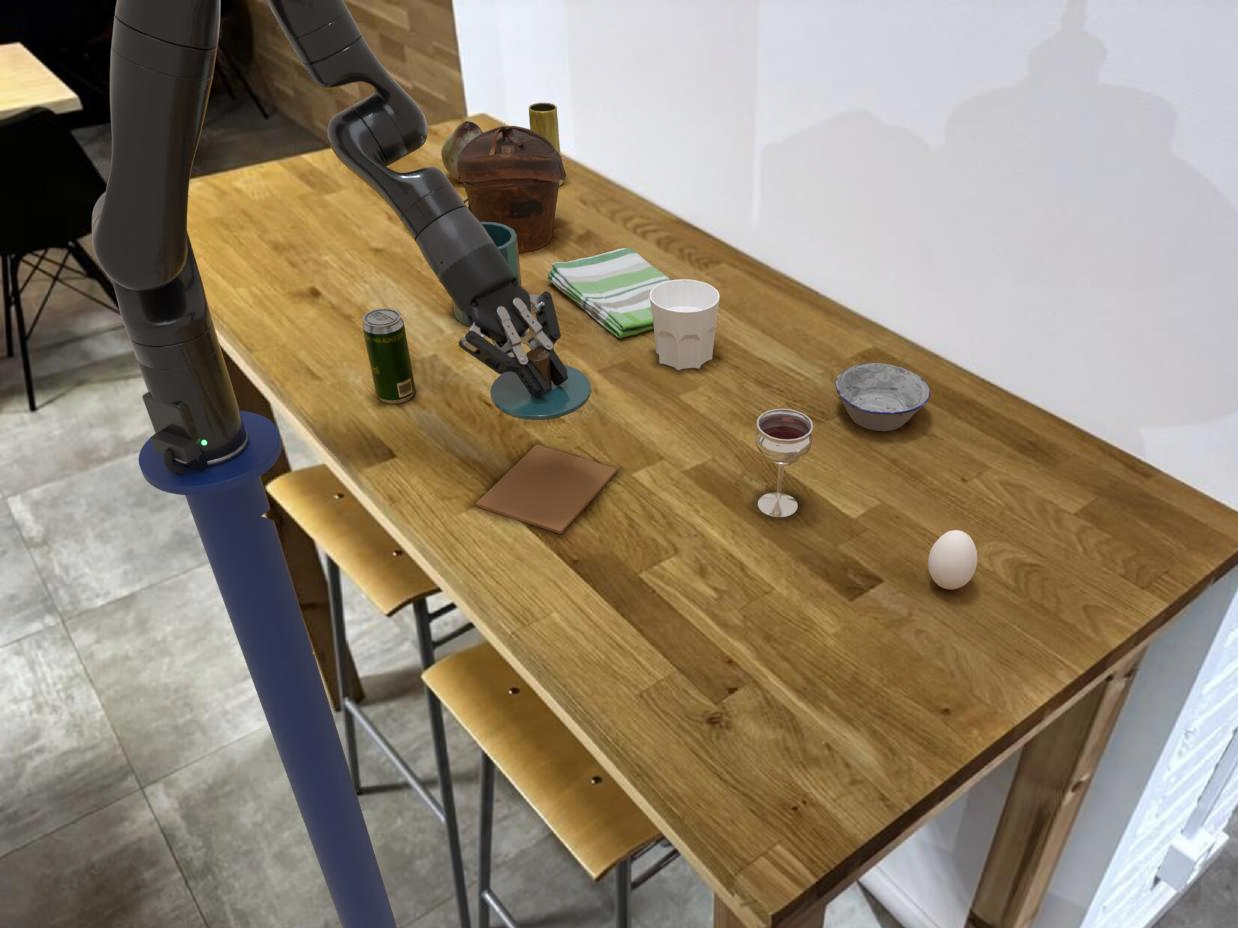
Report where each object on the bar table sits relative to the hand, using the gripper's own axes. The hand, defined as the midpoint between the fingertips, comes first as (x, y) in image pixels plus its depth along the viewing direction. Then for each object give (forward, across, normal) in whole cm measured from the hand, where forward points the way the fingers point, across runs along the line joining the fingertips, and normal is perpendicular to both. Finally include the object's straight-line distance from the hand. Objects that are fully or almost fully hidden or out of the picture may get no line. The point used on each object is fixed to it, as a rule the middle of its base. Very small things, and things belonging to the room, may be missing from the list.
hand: (553, 387), depth 124 cm
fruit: (-46, +62, +69) cm, 104 cm away
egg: (+44, +15, -21) cm, 51 cm away
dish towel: (-8, +44, +30) cm, 54 cm away
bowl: (+27, +40, -4) cm, 49 cm away
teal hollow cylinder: (-18, +27, +40) cm, 51 cm away
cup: (+5, +36, +17) cm, 40 cm away
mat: (+9, 0, +12) cm, 16 cm away
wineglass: (+27, +15, -5) cm, 31 cm away
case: (-29, +50, +51) cm, 77 cm away
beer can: (-12, +2, +34) cm, 37 cm away
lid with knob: (0, 0, +2) cm, 2 cm away
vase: (-38, +71, +60) cm, 101 cm away
